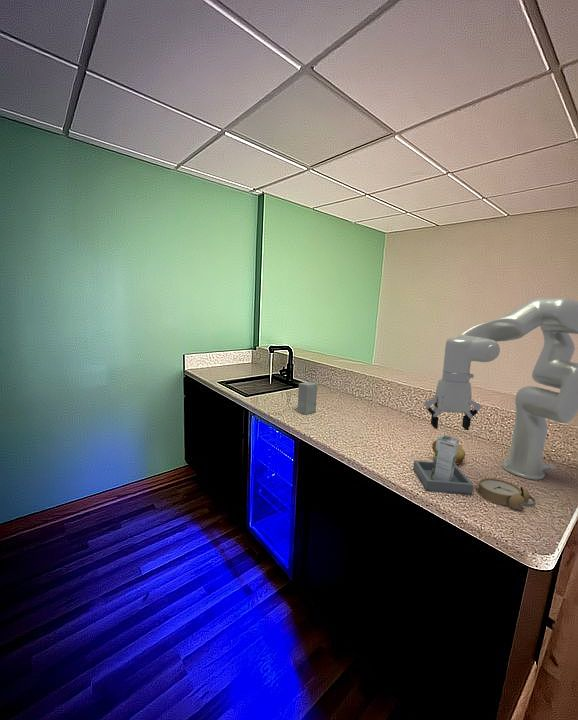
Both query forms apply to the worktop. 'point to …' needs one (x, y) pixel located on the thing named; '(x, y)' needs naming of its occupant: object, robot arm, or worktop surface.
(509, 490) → the alarm clock
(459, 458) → the bread roll
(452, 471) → the syrup box
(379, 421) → the worktop surface
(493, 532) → the worktop surface
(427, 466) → the tray
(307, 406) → the skincare box
